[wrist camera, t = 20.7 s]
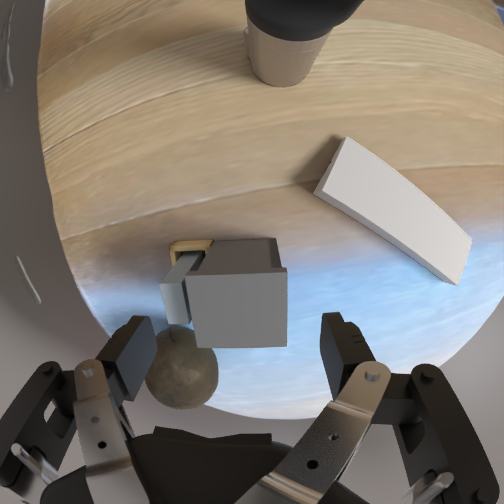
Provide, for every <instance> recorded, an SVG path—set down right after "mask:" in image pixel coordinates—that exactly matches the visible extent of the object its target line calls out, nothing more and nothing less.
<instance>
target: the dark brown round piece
mask: <svg viewBox="0 0 504 504" xmlns="http://www.w3.org/2000/svg"><path fill="white" fill-rule="evenodd" d="M155 338H156V341H157V353H156V356H155V358H154V360H153V362H152V364H151V366H150V368H149V370H148V372H147V374H146V376H145V378H144V379H145V382H146V385H147V387H148V389H149V391H150V392H151V394H152V395H153V396H154V397H155V398H156V399H157V400H158V401H159V402H161V403H162V404H163V405H165V406H168V407H171V408H174V409H193V408H197V407H199V406H201V405H203V404H204V403H205V402H207V401H208V400H209V399H210V397H211V396H212V395H213V393H214V391H215V390H216V388H217V385H218V363H217V359H216V356H215V353H214V352H213V350H212V348H198V347H197V342H196V337H195V332H194V331H193V330H191V329H188V328H183V327H172V328H169V329H166V330H164V331H162V332H160V333H159V334H158V335H156V336H155Z"/></svg>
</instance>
